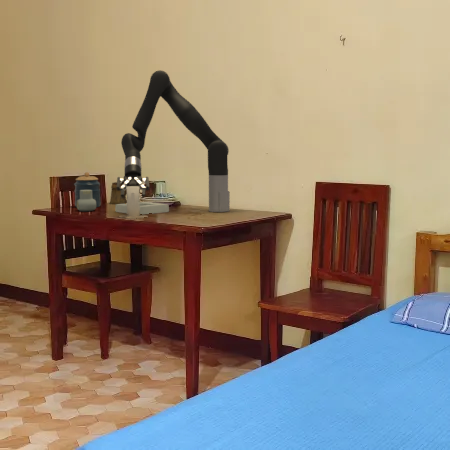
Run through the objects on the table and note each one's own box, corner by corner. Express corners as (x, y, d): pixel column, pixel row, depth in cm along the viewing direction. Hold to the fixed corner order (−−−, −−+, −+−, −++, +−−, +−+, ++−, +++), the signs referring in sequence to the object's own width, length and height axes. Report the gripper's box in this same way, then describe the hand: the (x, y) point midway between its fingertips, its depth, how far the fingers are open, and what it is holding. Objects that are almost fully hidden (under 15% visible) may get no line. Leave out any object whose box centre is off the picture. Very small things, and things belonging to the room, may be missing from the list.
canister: (74, 205, 321) (72, 171, 319) (99, 205, 325) (98, 171, 323) (75, 208, 309) (74, 173, 307) (102, 207, 313) (101, 172, 310)
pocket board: (168, 211, 293) (168, 204, 293) (137, 215, 281) (137, 207, 281) (146, 208, 307) (146, 201, 306) (115, 211, 295) (115, 204, 294)
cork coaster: (147, 217, 273) (147, 216, 273) (130, 219, 267) (130, 217, 267) (136, 215, 279) (136, 214, 279) (119, 217, 273) (119, 215, 273)
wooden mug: (127, 205, 325) (126, 170, 322) (106, 203, 331) (105, 170, 329) (137, 203, 333) (136, 169, 330) (116, 202, 339) (115, 169, 336)
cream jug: (127, 215, 276) (126, 186, 274) (140, 215, 276) (139, 185, 274) (126, 217, 268) (126, 187, 266) (139, 217, 268) (139, 187, 267)
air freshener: (97, 211, 295) (96, 190, 294) (79, 212, 292) (78, 191, 291) (93, 209, 305) (92, 189, 304) (76, 210, 302) (75, 189, 301)
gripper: (116, 163, 276) (116, 191, 267) (148, 163, 278) (149, 190, 268) (117, 174, 282) (117, 202, 273) (148, 174, 284) (149, 201, 274)
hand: (133, 196), depth 270 cm, fingers open, 8 cm apart
